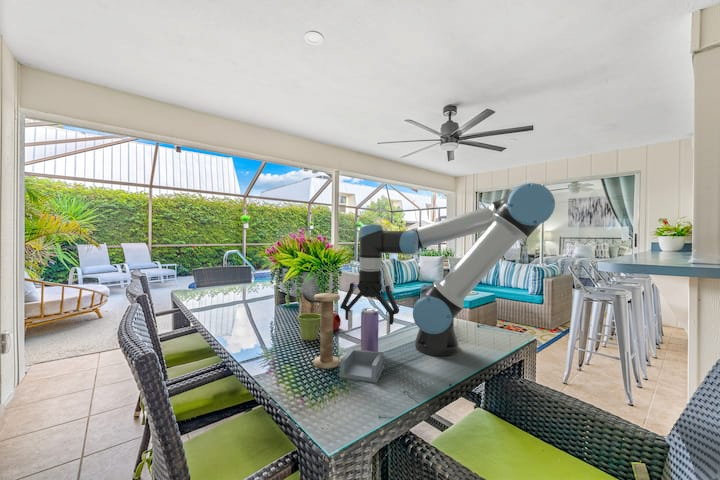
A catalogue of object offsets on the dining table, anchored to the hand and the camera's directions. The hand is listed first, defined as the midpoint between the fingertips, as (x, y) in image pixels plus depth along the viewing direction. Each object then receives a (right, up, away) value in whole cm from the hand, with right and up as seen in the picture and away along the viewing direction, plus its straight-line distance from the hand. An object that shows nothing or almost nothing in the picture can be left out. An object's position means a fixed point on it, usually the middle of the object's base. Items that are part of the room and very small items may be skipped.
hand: (368, 331), depth 107 cm
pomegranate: (-16, -7, +26) cm, 32 cm away
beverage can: (0, -8, 0) cm, 8 cm away
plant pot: (-23, -7, +15) cm, 28 cm away
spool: (-14, -8, -9) cm, 18 cm away
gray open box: (-2, -8, -15) cm, 17 cm away
